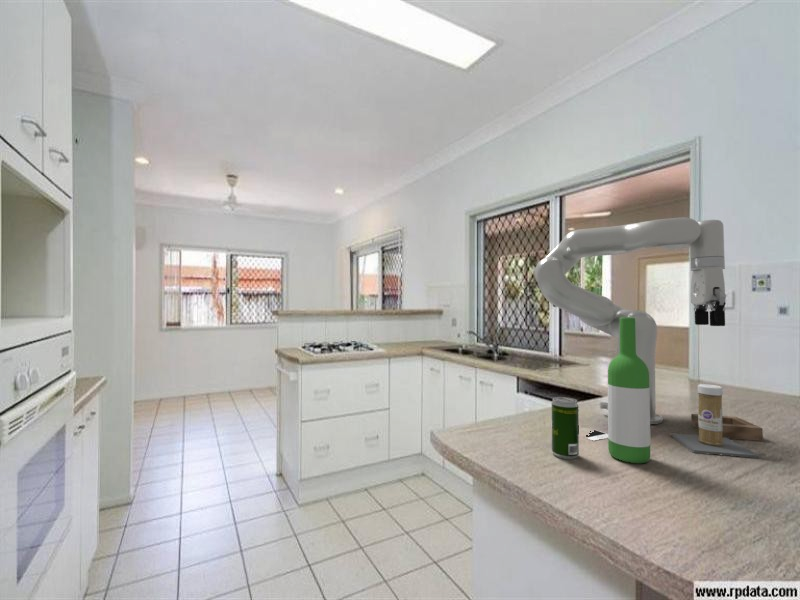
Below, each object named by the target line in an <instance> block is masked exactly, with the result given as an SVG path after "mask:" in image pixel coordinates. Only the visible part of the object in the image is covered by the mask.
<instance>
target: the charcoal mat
mask: <svg viewBox="0 0 800 600" xmlns="http://www.w3.org/2000/svg"><path fill="white" fill-rule="evenodd" d="M669 436H670V437H672V438H673V439H675V440H676V441H677V442H679V443H680V444H681V445H683V446H684V447H685V448H687V449H688V450H689V449H690V451H691V452H692V453H694V454H701V453H709V454H708V455H713V454H722V455H721V456H725V455H733V456H732V457H736V456H741V457H740V458H748V457H750V459H751V458H752V459H760V455H758V454H757V453H755V452H753V451H752V450H750V449H748V448H747V447H745V446H743V445H741V444H739V443H737V442H736V441H734V440H732V439H731V438H726V437H722V442H723V445H721V446H713V445H708V444H704V443H702V442H700V441H699V440H698V438H699V434H698V435H697V434H683V433H670V435H669Z"/></svg>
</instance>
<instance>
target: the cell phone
mask: <svg viewBox="0 0 800 600" xmlns="http://www.w3.org/2000/svg"><path fill="white" fill-rule="evenodd" d="M596 430H597V429H594V432H592V433H589V434H590V435H589V436H588V435H586V437H587V438H588V439H590V440H589V441H591V440H593V441H592V442H596V441H595V440H598V441H600V440H599V439H603V440H605V439H604V438H608V432H607V433H606V432H603V431H600V430H597V431H596ZM590 432H591V431H590ZM588 439H587V440H588Z"/></svg>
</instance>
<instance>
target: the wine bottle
mask: <svg viewBox="0 0 800 600" xmlns="http://www.w3.org/2000/svg"><path fill="white" fill-rule="evenodd" d="M607 367H608V368H607V403H608V410H607V434H608V439H607V441H608V442H607V443H608V446H607V447H608V452H609V454H610V456H611V457H612V458H614V459H616V460H618V459H619V461H621V460H622V461H621V462H625V463H629V462H631V463H630V464H644V463H645V464H646V463H647V462H649V461H650V459H651V424H650V387H649V371H648V368H647V366H646V364H645V363H644V362H643V360H642V359H640V358H639V357H638V356H637V355H636V334H635V318H620V353H619V355H618V356H617V355H616V356H615V357H613V359H611V361H610V362H609V365H608V366H607Z"/></svg>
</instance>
